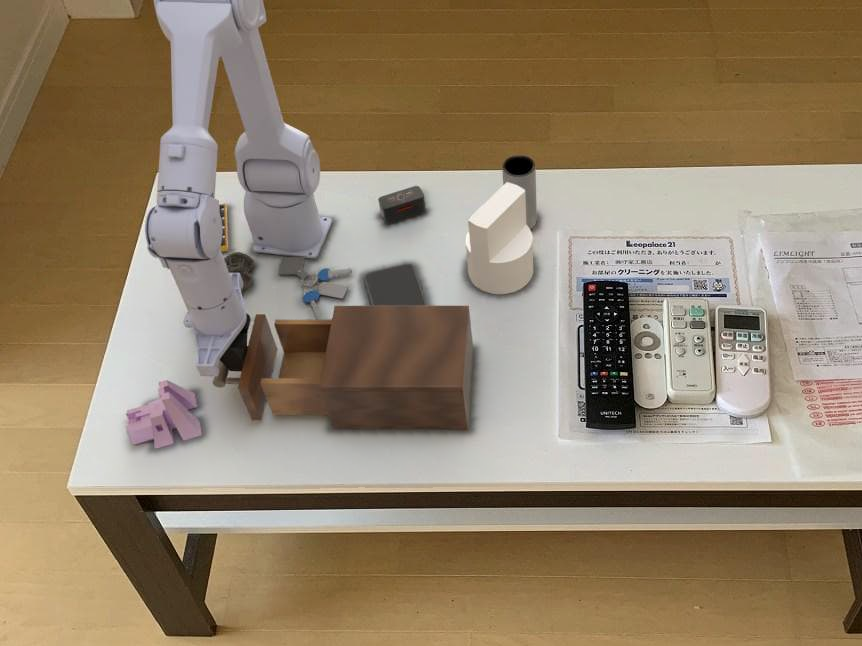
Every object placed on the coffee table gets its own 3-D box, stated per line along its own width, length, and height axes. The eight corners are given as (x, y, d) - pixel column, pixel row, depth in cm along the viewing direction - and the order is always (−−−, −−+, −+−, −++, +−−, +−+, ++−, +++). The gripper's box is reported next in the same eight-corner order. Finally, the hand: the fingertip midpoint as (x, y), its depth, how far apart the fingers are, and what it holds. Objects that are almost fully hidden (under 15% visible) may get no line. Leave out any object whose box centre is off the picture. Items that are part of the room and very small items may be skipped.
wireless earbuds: (432, 211, 142) (430, 194, 139) (386, 226, 140) (383, 209, 138) (421, 192, 145) (419, 175, 142) (376, 206, 143) (372, 189, 141)
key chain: (271, 265, 136) (270, 261, 136) (323, 240, 139) (322, 236, 138) (320, 325, 129) (318, 321, 128) (373, 297, 132) (372, 293, 131)
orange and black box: (226, 244, 137) (191, 250, 137) (228, 250, 138) (193, 256, 138) (225, 202, 143) (191, 207, 142) (227, 208, 144) (193, 213, 143)
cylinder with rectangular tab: (493, 238, 138) (489, 172, 129) (546, 263, 135) (545, 198, 125) (455, 276, 134) (447, 211, 124) (508, 304, 131) (505, 239, 121)
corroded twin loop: (217, 300, 133) (215, 295, 132) (219, 259, 137) (217, 253, 137) (254, 295, 133) (253, 290, 132) (255, 254, 138) (253, 249, 137)
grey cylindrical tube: (538, 211, 141) (536, 155, 133) (535, 233, 139) (534, 177, 130) (506, 209, 142) (503, 153, 134) (503, 231, 139) (500, 175, 131)
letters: (136, 454, 118) (118, 426, 113) (130, 411, 122) (113, 382, 117) (202, 435, 119) (187, 406, 114) (194, 393, 123) (180, 364, 118)
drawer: (216, 420, 119) (200, 387, 114) (235, 348, 126) (221, 313, 121) (377, 421, 118) (368, 387, 113) (387, 348, 125) (379, 313, 120)
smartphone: (384, 355, 126) (361, 273, 134) (385, 359, 126) (362, 277, 135) (440, 341, 127) (413, 261, 135) (440, 345, 127) (414, 265, 136)
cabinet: (332, 429, 119) (319, 386, 112) (346, 349, 127) (334, 305, 120) (467, 429, 118) (462, 387, 111) (473, 349, 126) (468, 305, 119)
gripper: (188, 245, 114) (219, 323, 124) (156, 339, 105) (193, 414, 115) (247, 245, 113) (273, 323, 124) (221, 340, 104) (251, 415, 115)
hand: (238, 367), depth 120 cm, fingers closed, pressing on drawer
